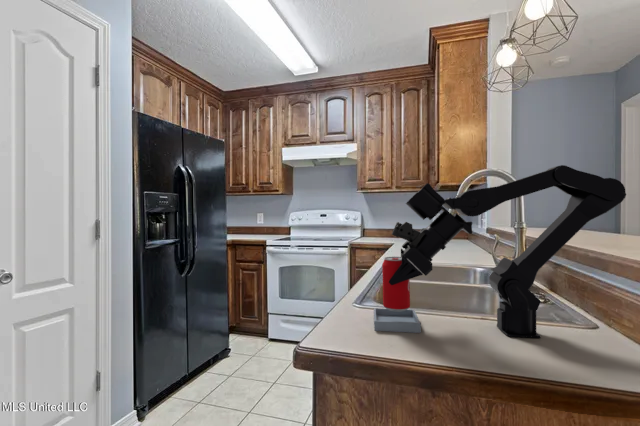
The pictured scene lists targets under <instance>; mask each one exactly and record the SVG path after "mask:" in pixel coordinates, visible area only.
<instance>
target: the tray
mask: <svg viewBox="0 0 640 426" xmlns="http://www.w3.org/2000/svg"><path fill="white" fill-rule="evenodd" d="M421 324H422V323H421V321H420V319H419V317H418V315H417V313H416V310H415V309H411V308H408V309H407V310H405V311H401V312H395V311H390V310H388V309H386V308H385V307H383V308H379V307H374V308H373V326H374V327H373V328H374V331H376V332H378V331H379V332H395V333H396V332H398V333H399V332H400V333H416V334H418V333H420V334H421V332H422V331H421V330H422V329H421V327H422V326H421Z"/></svg>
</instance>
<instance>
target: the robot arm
mask: <svg viewBox="0 0 640 426" xmlns="http://www.w3.org/2000/svg"><path fill="white" fill-rule="evenodd" d="M553 187H555V188H557V189H558V190H559V191H561V192H563V193H565V194H566V195H569V196H570V197H569V200H568V203H567V206H566V208H565V209H564V211H563V212H562V213H561V214H559V216H558V217H557V218H556V219H555V220H554V221H553V222H552V223H551V224H550V225H549V226H548V227H547V228H546V229H545V230H544V231H543V232H542V233H541V234H540V235H539V236H538V237H537V238H535V240H534V241H533V242H532V243H530V245H528V247H527V248H526V249H525V250H524V251H523V252H522V253H520V255H519V256H517V257H516V258H514V259H510V258H507V257H502V259H501V260H500V262H499V263H498V264H497V265H496V266H495V267H493V268H491V271H492V272H491V274H490V276H489V277H488V278H489V285H490V287H491V289H493V291H495V292H496V293H497V294H498V297H499V299H500V301H499V308H498V307H497V308H496V318H497V319H496V322H497V323H496V327H497V328H498V329H499V330H500V331H501V332H502V333H503V334H504V335H506V336H507V337H515V338H516V337H517V338H533V339H534V338H536V339H540V338H541V334H539V333H538V332H537V310H538V309H539V306H540V304H541V300H540V299H539V298H538V296H536V295H535V294H534V293H533V292H532V291H531V290H530V289H531V288H532V287H533V284H534V283H535V280H536V278H537V274H538V272H539V271H540V270H541V269H542V267H543V266H545V264H547V262H549V261H550V260H551V258H553V257H554V256H555V255H556V254H557V253H558V252H559V251H560V250H561V249H562V248H563V247H564V246H565V245H566V244H567V243H568V242H569V241H570V240H571V239H572V238H573V237H574V236H576V235H577V233H579V231H580V230H582V229H583V227H584V226H586V224H588V223H589V222H590V221H591V220H594V219H596V218H598V217H600V216H602V215H604V214H606V213H608V212H609V211H611V210H613V209H614V208H615V207H617V206H619V205H620V204H621V203H623V201H625V199H626V196H627V193H626V187H625V185H624V184H623V183H622V182H621V181H620V180H618V179H617V178H613V177H606V178H605V177H603V176H600V175H597V174H593V173H589V172H585V171H582V170H578V169H575V168H573V167H570V166H567V165H564V164H561V165H557V166H553V167H550V168H548V169H547V170H544V171H541V172H538V173H534V174H532V175H529V176H526V177H522V178H519V179H516V180H513V181H509V182H506V183H503V184H500V185H497V186H493V187H491V186H490V187H484V188H477V189H472V190H467V191H464V192H461V193H459V194H458V195H456V197H453V198H452V197H446V198H444V197H442V195H441V194H439V193H438V192H437V191H436V190H435V189H434V188H433V187H432V185H430V183H428V182H427V183H426V184H424V185H423V187H422V188H421V189H419V191H416V192H415V193H414V194H413V196H412V197H410V198H409V199H408V200H407V201H406V203H405V204H406V205H407V206H408V207H409V208H410V209H411V210H412V212H414V213H415V214H416V215H417V216H419V217H420V218H421V219H422V221H424V220H425V219H428V220H429V221H431V220H432V219H434V217H436V216H437V217H436V218H435V219H434V220H433V221H432V222H431V223H430V224H429V225H428V226H426V227H425V228H424V227H423V228H421V229H420V230H417V229H415V228H413V224H412V223H409V222H408V221H405V222H404V223H402V222H399V221H396V223H395V225H394V228H393V230H392V232H391V235H393V236H394V237H396V238H401V239H403V240H406V241H405V242H404V243H403V244H402V245H401V248H400V257H402V263H401V265H400V266H399V268H398V269H397V270H396V272H395V273H394V274H393V276H392V277H391V279H390V280H389V283H390V284H391V285H394V284H397V283H400V282H403V281H405V280H408V279H410V280H411V279H413V278H416V277H420V276H423V275H424V276H428V274H430V273H431V272H432V271H433V263H432V261H433V258H434V257H435V256H436V255H437V254H438V253H439V252H440V251H441V250H442V251H444V250H445V249H446V248H447V244H448V243H450V241H452V240H453V239H454V238H455V237H456V236H457V235H458V234H459V233H460V232H461V231H462V230H463V232H465V233H467V234H469V235H471V234H473V226H472V225H473V222H472V221H470V220H469V221H466V220H465V219H464V218H462V217H461V216H463V217H477V216H480V215H482V214H484V213H486V212H489V211H490V210H492V209H494V208H496V207H498V206H499V205H501V204H502V203H505V202H508V201H510V200H514V199H518V198H521V197H523V196H527V195H530V194H531V195H532V194H533V193H536V192H539V191H543V190H547V189H550V188H553ZM447 209H448V210H447ZM449 210H455V211H456V213H454V214H452V213H451V212H450V211H449ZM440 212H441V213H440ZM438 214H439V215H438ZM459 214H460V215H459ZM501 300H502V301H501Z"/></svg>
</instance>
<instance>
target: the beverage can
mask: <svg viewBox="0 0 640 426" xmlns="http://www.w3.org/2000/svg"><path fill="white" fill-rule="evenodd" d="M401 263H402V257H401V256H385V257H384V258H383V262H382V267H381V268H382V270H381V272H382V305H383V308H384V309H388V310H390V311H395V312H401V311H405V310H407V309H410V307H411V290H410V289H411V288H410V284H411V283H410V280H411V279H408V280H405V281H403V282H400V283H397V284H394V285H391V284H390V283H389V280H390V279H391V277H392V276H393V274H394V273H395V272H396V270H397V269H398V268H399V266H400V265H401Z"/></svg>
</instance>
